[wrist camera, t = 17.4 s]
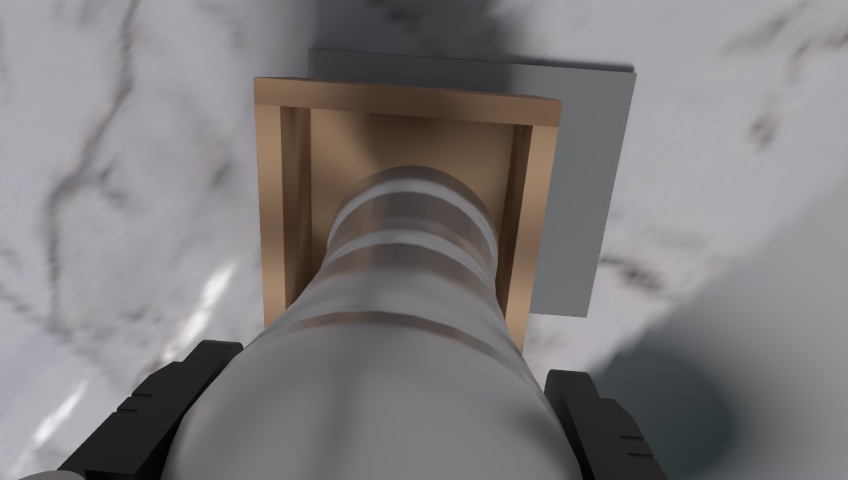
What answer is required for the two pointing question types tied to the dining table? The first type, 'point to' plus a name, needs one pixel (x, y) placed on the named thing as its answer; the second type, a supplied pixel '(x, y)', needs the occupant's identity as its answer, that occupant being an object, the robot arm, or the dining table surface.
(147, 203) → the dining table surface
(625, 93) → the gray mat
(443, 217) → the plastic bottle
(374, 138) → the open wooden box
